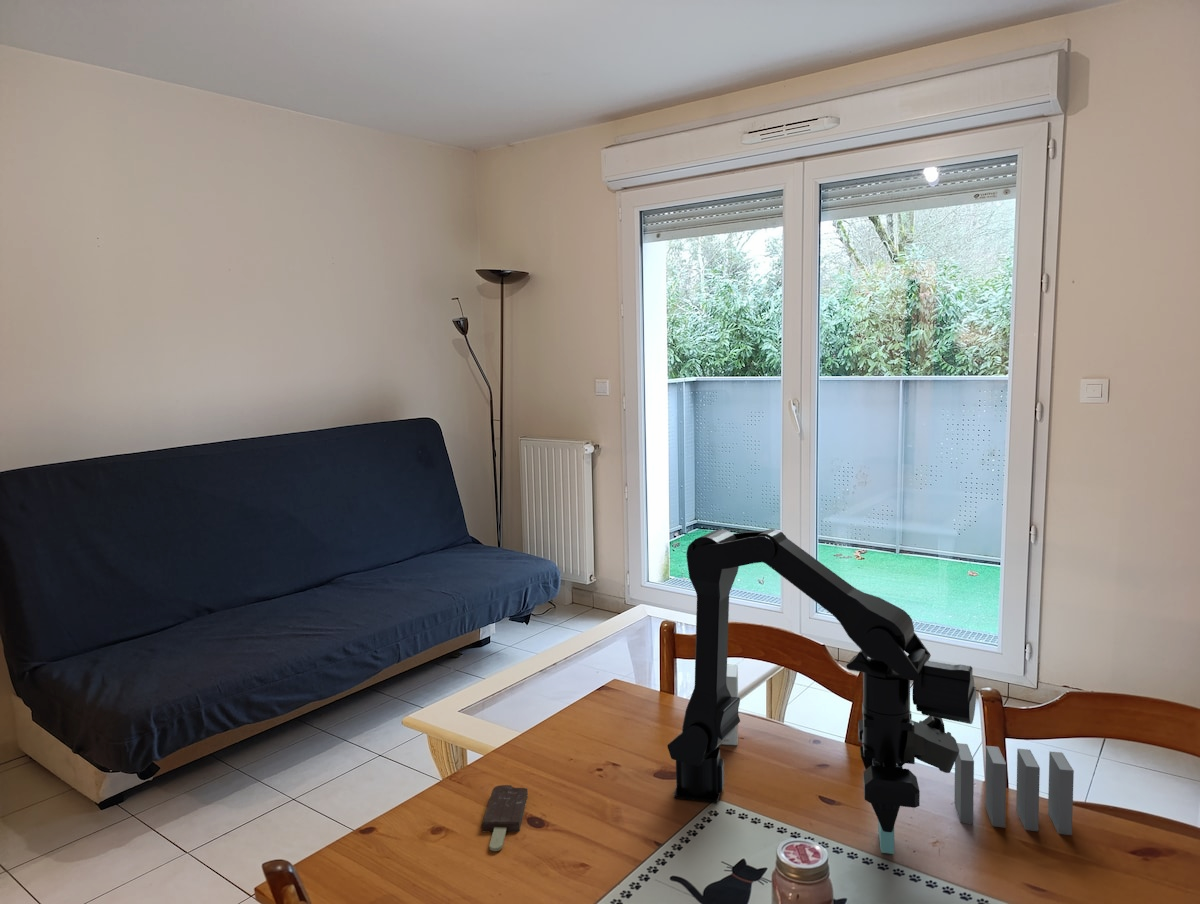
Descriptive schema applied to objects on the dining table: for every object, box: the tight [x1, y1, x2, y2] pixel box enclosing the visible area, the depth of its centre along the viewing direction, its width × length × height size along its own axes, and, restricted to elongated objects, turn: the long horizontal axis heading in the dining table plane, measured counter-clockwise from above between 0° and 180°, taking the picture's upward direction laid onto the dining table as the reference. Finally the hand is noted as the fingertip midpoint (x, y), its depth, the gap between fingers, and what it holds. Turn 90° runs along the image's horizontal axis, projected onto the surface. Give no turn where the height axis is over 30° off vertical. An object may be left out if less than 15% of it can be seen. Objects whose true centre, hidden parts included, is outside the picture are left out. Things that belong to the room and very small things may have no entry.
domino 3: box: [1015, 748, 1041, 832], centre depth 106 cm, size 2×5×9 cm, turn 164°
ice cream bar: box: [481, 784, 528, 852], centre depth 111 cm, size 5×2×15 cm
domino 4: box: [1047, 751, 1075, 836], centre depth 105 cm, size 2×5×9 cm, turn 164°
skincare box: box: [721, 663, 739, 746], centre depth 133 cm, size 6×4×12 cm
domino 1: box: [953, 742, 975, 825], centre depth 109 cm, size 2×5×9 cm, turn 164°
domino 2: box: [984, 745, 1007, 828], centre depth 107 cm, size 2×5×9 cm, turn 164°
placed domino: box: [877, 819, 895, 855], centre depth 102 cm, size 2×5×9 cm, turn 164°
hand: (886, 819), depth 102 cm, fingers closed on placed domino, 5 cm apart
